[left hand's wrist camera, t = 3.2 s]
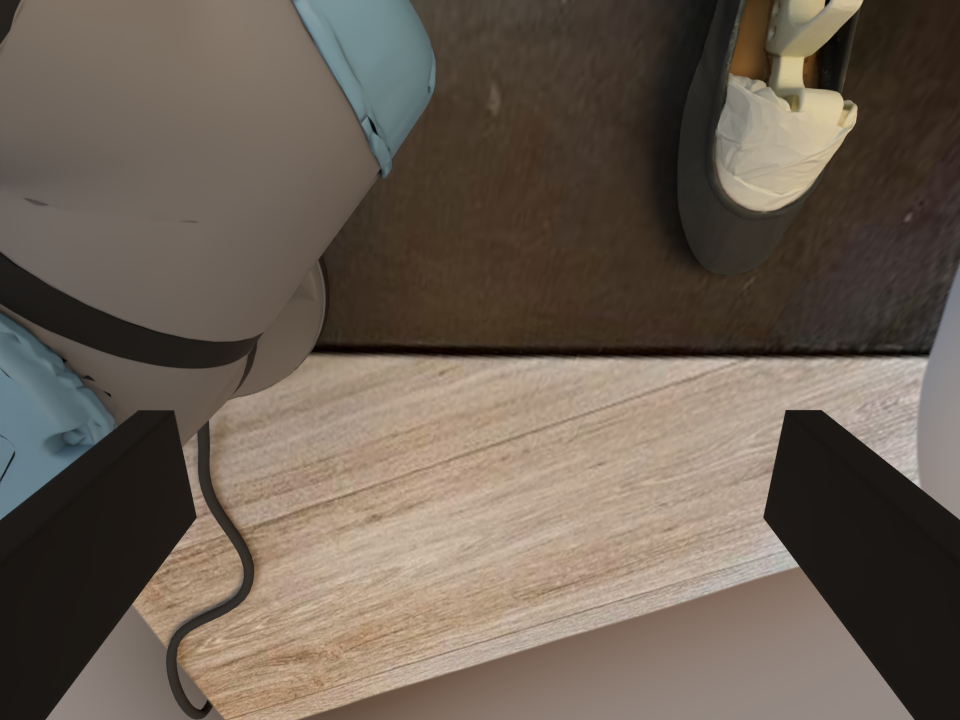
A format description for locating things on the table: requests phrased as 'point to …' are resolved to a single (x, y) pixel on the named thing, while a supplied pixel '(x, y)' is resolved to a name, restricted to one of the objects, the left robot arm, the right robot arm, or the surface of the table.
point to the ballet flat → (761, 124)
